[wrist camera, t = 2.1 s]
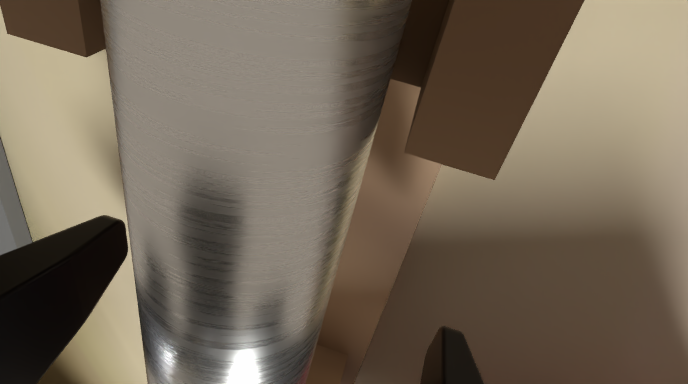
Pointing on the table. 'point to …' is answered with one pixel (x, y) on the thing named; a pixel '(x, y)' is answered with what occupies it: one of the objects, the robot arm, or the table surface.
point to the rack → (394, 131)
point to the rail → (242, 170)
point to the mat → (10, 211)
